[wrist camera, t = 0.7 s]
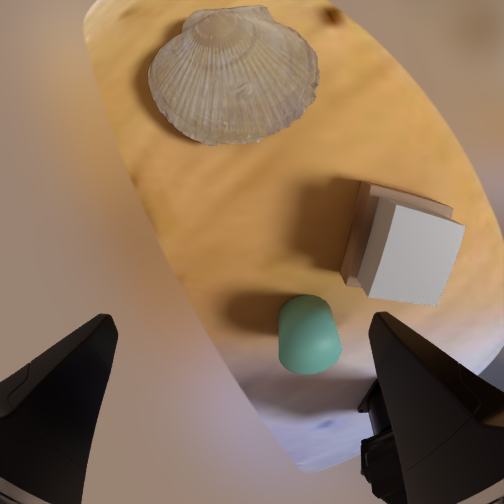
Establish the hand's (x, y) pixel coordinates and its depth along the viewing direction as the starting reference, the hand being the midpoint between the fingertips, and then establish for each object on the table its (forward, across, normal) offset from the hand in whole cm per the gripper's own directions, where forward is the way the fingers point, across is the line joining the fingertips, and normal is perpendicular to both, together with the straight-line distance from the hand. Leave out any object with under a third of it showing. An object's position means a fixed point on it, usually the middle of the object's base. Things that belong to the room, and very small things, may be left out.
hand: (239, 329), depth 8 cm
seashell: (+16, +1, -10) cm, 19 cm away
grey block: (+10, -12, +2) cm, 16 cm away
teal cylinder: (+13, -5, +11) cm, 17 cm away
